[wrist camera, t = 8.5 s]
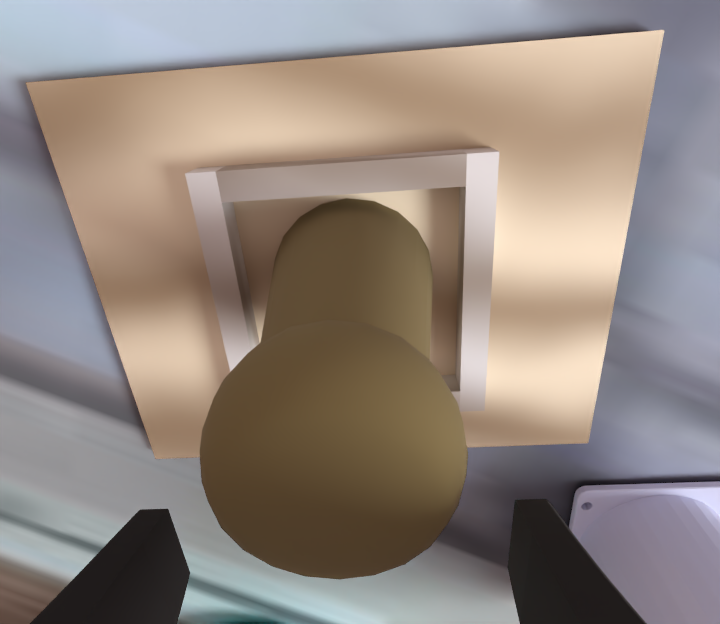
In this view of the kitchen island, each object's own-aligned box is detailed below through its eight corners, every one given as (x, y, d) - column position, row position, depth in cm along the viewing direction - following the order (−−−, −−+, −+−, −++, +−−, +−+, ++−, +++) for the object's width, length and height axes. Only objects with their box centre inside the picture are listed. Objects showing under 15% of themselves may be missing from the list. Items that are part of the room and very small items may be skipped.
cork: (241, 266, 18) (71, 498, 8) (364, 161, 16) (349, 287, 6) (343, 371, 20) (314, 664, 10) (464, 289, 18) (578, 543, 8)
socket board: (582, 433, 21) (599, 462, 20) (160, 449, 22) (144, 478, 21) (653, 32, 14) (689, 24, 13) (37, 82, 16) (-2, 82, 14)
